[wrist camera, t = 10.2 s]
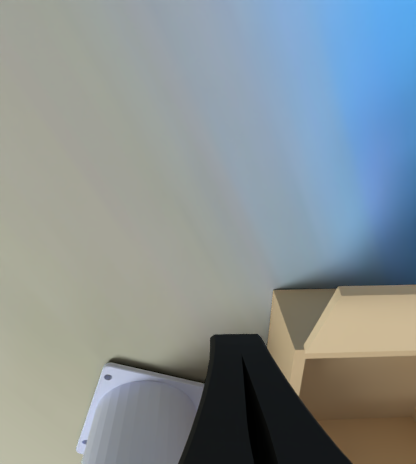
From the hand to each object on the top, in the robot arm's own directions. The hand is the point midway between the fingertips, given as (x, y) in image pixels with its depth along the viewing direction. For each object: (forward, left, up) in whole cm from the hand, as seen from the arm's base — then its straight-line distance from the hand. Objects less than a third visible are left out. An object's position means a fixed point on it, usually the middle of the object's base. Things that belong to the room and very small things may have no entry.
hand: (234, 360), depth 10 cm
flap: (+1, -10, -4) cm, 11 cm away
